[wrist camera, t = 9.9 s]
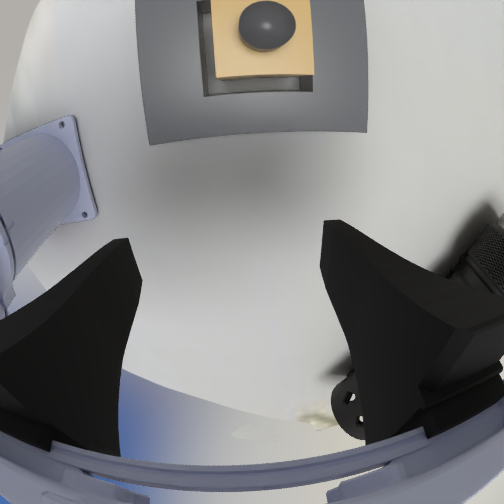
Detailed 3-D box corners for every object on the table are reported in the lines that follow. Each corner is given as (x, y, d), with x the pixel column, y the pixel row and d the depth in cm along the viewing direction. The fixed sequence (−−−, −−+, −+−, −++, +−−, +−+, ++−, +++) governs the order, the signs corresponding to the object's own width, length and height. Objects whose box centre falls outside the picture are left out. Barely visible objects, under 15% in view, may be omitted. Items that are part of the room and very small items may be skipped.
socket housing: (162, 135, 16) (149, 145, 14) (149, -5, 11) (134, -18, 8) (347, 124, 16) (366, 132, 14) (342, -12, 11) (360, -24, 8)
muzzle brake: (320, 371, 33) (337, 444, 24) (481, 189, 19) (554, 249, 11) (368, 378, 36) (388, 439, 27) (507, 230, 22) (560, 284, 14)
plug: (221, 80, 15) (213, 76, 8) (217, 22, 12) (207, -18, 6) (287, 77, 15) (325, 74, 8) (284, 20, 12) (319, -18, 6)
